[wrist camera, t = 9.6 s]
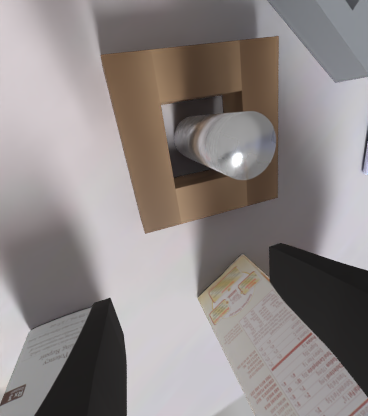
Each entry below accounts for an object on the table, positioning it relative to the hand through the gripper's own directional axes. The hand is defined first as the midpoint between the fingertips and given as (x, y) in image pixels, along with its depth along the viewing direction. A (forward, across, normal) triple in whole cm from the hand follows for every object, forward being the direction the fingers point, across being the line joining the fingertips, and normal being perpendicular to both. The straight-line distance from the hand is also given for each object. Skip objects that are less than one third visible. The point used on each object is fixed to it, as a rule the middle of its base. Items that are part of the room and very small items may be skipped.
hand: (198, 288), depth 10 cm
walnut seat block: (+10, -4, -5) cm, 12 cm away
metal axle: (+10, -4, -5) cm, 12 cm away
